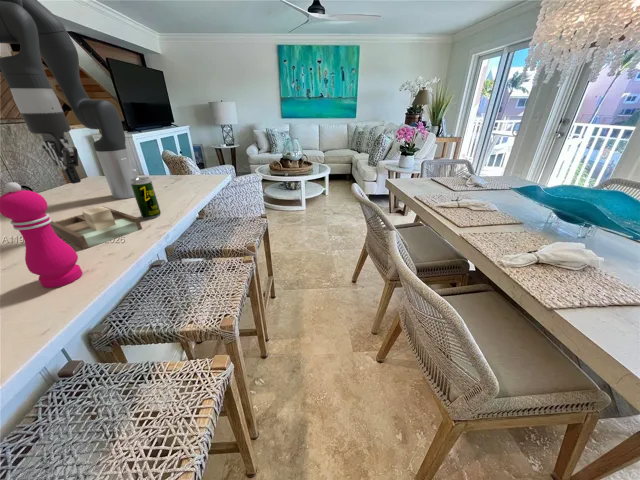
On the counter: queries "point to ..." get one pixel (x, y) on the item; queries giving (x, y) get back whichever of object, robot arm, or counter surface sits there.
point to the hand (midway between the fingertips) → (75, 182)
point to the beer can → (145, 197)
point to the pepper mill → (40, 237)
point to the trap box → (88, 237)
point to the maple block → (99, 218)
